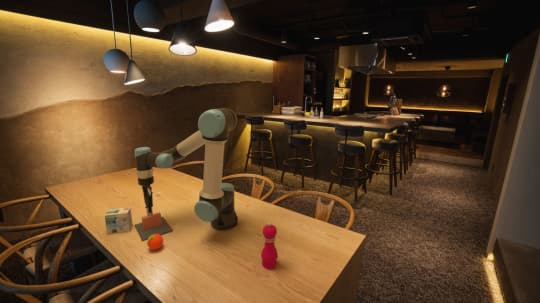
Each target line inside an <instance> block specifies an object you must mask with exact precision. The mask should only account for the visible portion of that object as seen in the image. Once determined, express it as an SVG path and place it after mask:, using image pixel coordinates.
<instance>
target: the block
mask: <svg viewBox="0 0 540 303" xmlns="http://www.w3.org/2000/svg"><path fill="white" fill-rule="evenodd" d="M161 217H162V214H161V212H156V213H153V214H152V215H148V216H147V215H145V216H142V217H141V223H142V225H143V229H144V230H147V229H150V228H153V227H157V226H160V225H162V220H161Z"/></svg>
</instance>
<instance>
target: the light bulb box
mask: <svg viewBox="0 0 540 303" xmlns="http://www.w3.org/2000/svg"><path fill="white" fill-rule="evenodd" d="M104 221H105V228H106V234H107V235H109V234H119V233H129V232H130V231H131V230H132V228H133V225H134V224H133V216H132V208H131V207H121V208H112V209H110V208H109V209H108V210H107V212H106V213H105V214H104Z"/></svg>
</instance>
